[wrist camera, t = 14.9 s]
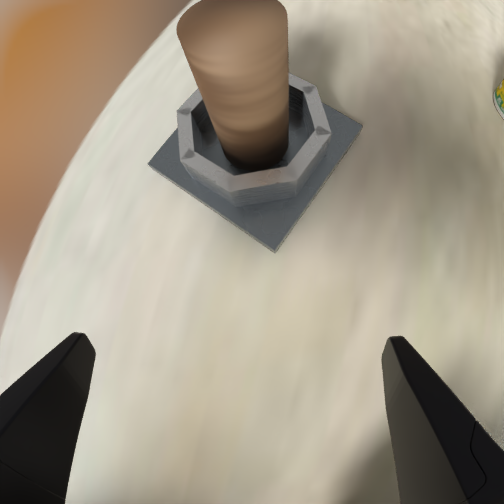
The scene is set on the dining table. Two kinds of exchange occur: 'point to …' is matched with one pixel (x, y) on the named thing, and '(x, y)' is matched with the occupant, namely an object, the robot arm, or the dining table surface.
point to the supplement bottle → (499, 99)
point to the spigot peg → (242, 75)
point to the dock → (263, 181)
